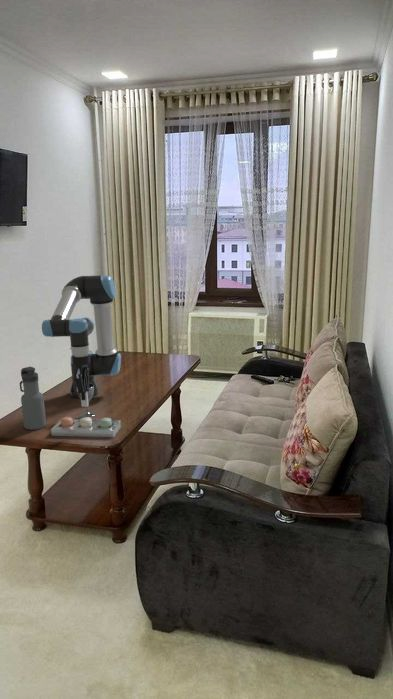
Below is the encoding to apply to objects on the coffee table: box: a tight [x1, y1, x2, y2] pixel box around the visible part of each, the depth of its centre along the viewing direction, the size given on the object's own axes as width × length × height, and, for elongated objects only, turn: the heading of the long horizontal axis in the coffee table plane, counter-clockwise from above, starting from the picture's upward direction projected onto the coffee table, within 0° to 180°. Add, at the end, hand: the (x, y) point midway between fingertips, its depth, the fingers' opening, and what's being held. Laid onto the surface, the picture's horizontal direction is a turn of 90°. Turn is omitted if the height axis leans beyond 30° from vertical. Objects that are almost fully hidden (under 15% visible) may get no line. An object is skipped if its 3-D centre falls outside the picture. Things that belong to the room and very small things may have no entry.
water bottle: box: [19, 366, 47, 431], centre depth 230 cm, size 10×10×28 cm
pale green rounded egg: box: [99, 417, 112, 428], centre depth 225 cm, size 5×5×5 cm
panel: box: [50, 418, 122, 438], centre depth 226 cm, size 12×28×3 cm, turn 83°
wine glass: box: [77, 383, 96, 419], centre depth 244 cm, size 8×8×15 cm
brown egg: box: [60, 416, 73, 427], centre depth 227 cm, size 5×5×5 cm
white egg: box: [80, 417, 93, 428], centre depth 226 cm, size 5×5×5 cm
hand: (85, 405), depth 224 cm, fingers closed
